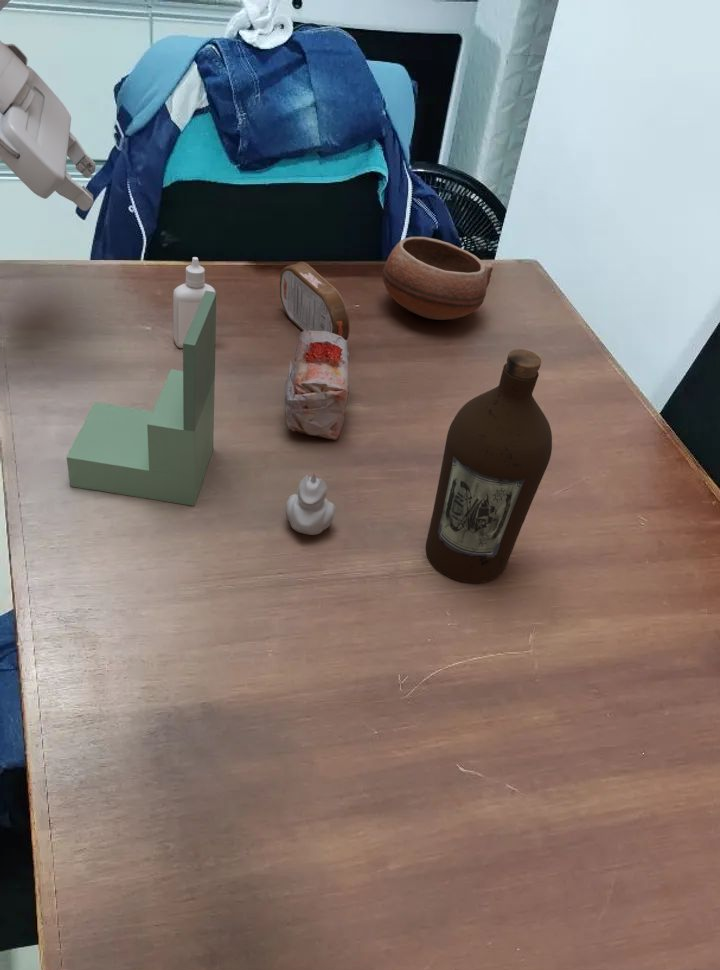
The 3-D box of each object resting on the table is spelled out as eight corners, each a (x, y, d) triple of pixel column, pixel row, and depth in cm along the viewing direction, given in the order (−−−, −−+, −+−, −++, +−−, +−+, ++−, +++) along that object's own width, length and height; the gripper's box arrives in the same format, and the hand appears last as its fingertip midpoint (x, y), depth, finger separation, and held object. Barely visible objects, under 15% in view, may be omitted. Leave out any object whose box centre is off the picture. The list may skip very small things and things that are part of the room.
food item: (345, 447, 114) (355, 378, 107) (281, 441, 113) (287, 371, 106) (344, 387, 123) (353, 320, 116) (285, 381, 122) (291, 312, 115)
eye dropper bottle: (210, 355, 124) (212, 270, 115) (170, 347, 124) (168, 261, 115) (218, 339, 127) (221, 255, 118) (179, 331, 127) (178, 246, 118)
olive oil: (434, 513, 108) (484, 316, 89) (520, 542, 106) (589, 348, 88) (407, 568, 100) (456, 367, 82) (499, 600, 99) (569, 402, 81)
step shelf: (69, 486, 102) (49, 320, 87) (97, 430, 110) (83, 269, 95) (194, 506, 103) (195, 345, 88) (213, 449, 110) (216, 292, 96)
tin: (347, 357, 129) (355, 300, 122) (328, 361, 127) (335, 304, 121) (292, 306, 136) (296, 250, 130) (273, 309, 135) (277, 253, 129)
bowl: (498, 319, 142) (514, 256, 135) (437, 350, 133) (451, 285, 126) (420, 278, 148) (432, 216, 141) (357, 305, 139) (366, 240, 132)
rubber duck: (278, 537, 101) (283, 479, 95) (292, 501, 106) (298, 444, 100) (325, 548, 101) (334, 491, 95) (338, 512, 105) (346, 455, 100)
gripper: (1, 102, 92) (108, 207, 101) (17, 40, 105) (110, 137, 115) (-38, 146, 94) (69, 245, 104) (-18, 79, 108) (76, 172, 117)
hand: (91, 188), depth 109 cm, fingers open, 8 cm apart
